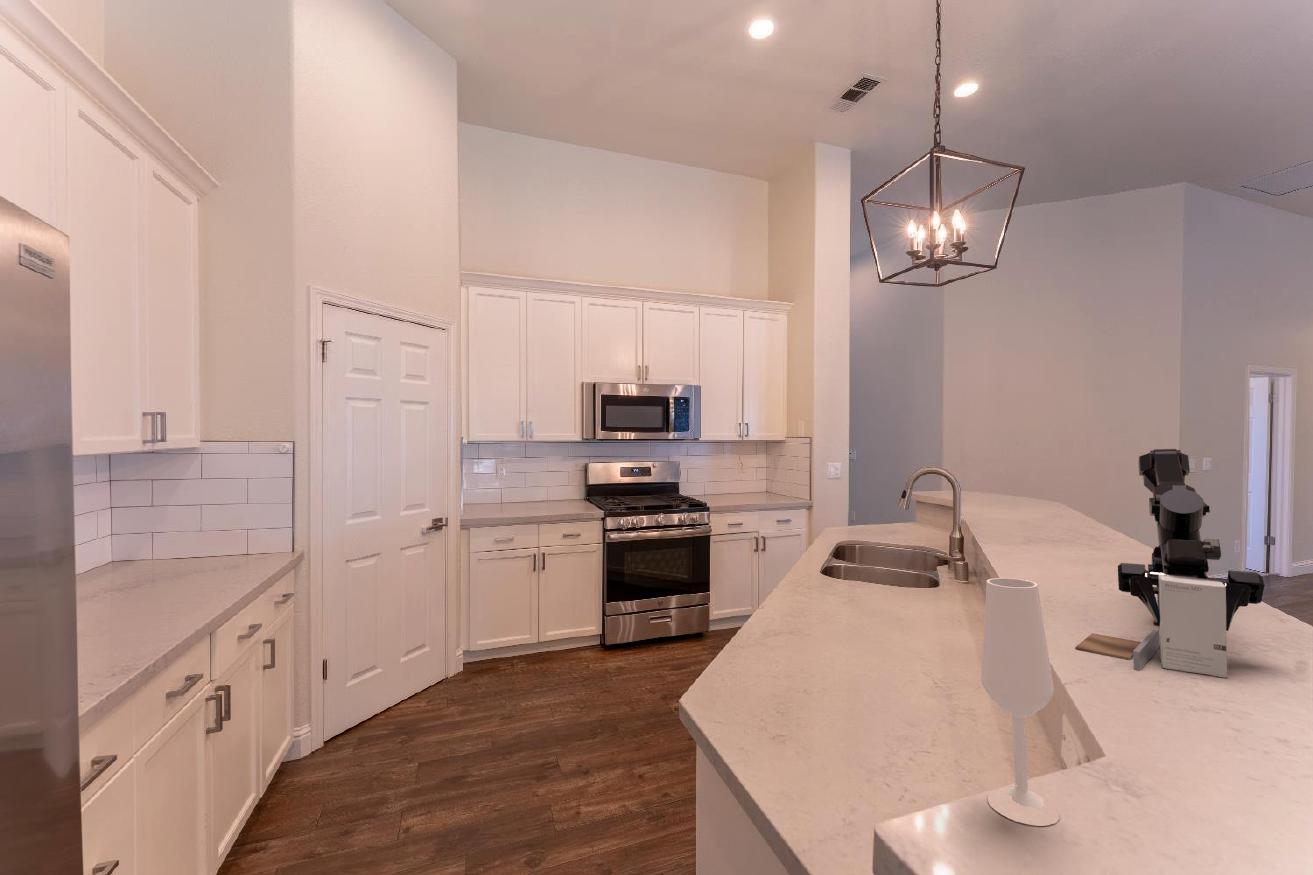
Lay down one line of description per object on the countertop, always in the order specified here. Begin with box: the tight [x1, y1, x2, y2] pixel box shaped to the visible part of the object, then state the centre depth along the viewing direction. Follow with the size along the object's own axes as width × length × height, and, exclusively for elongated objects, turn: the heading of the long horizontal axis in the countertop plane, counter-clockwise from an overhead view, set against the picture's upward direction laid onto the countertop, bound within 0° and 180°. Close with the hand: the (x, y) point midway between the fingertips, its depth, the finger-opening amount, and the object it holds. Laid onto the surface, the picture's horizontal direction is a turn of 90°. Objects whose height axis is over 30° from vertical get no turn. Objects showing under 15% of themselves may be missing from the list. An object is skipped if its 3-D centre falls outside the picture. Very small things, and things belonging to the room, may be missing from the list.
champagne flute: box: [980, 577, 1055, 808], centre depth 64 cm, size 7×7×24 cm
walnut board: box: [1074, 633, 1142, 661], centre depth 109 cm, size 11×8×1 cm
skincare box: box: [1158, 575, 1228, 678], centre depth 98 cm, size 8×6×15 cm
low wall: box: [1132, 628, 1160, 671], centre depth 104 cm, size 16×1×3 cm, turn 130°
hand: (1191, 625), depth 98 cm, fingers closed on skincare box, 8 cm apart
